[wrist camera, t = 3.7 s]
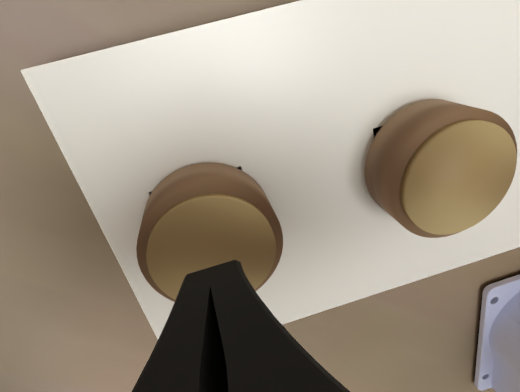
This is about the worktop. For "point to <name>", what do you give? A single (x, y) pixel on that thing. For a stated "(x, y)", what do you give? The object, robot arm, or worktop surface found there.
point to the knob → (207, 227)
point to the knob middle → (440, 166)
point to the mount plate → (288, 131)
